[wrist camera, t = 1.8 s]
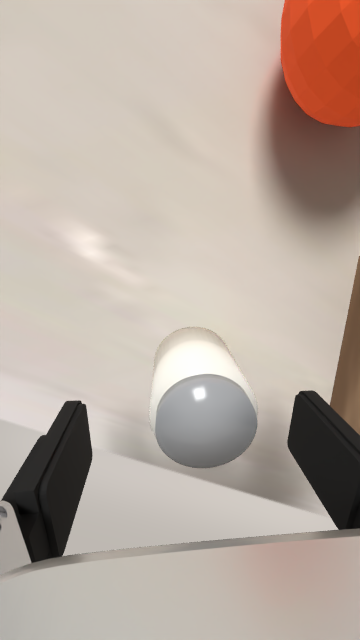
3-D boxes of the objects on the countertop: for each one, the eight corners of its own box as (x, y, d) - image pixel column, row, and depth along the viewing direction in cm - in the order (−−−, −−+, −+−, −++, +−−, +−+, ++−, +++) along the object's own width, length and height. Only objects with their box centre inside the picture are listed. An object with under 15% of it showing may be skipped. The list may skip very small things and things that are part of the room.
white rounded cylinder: (232, 326, 16) (270, 376, 10) (227, 394, 17) (257, 470, 12) (153, 327, 15) (145, 379, 10) (155, 396, 17) (150, 475, 11)
